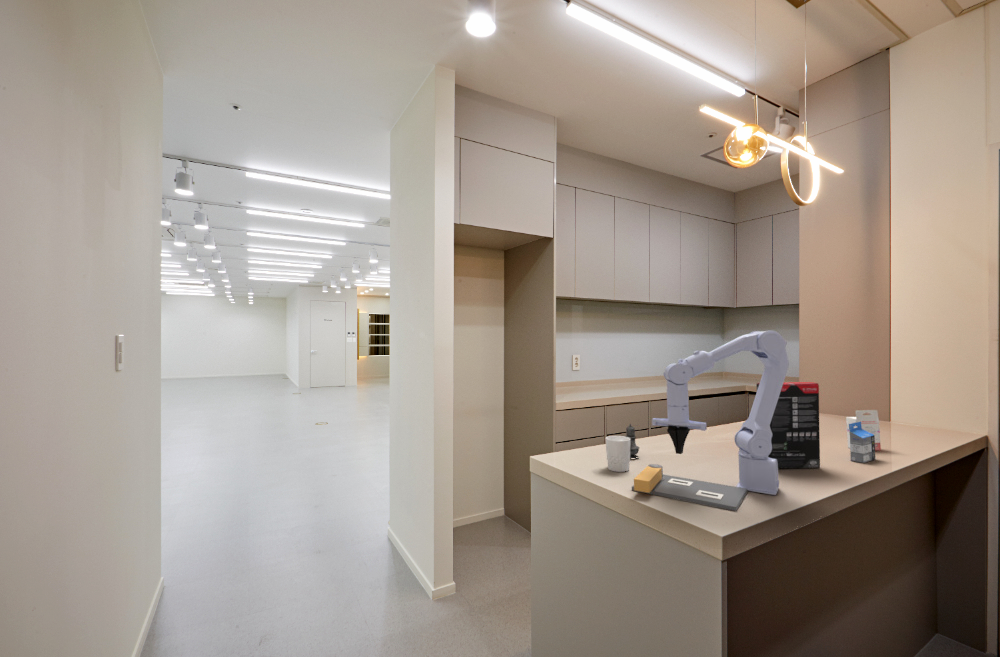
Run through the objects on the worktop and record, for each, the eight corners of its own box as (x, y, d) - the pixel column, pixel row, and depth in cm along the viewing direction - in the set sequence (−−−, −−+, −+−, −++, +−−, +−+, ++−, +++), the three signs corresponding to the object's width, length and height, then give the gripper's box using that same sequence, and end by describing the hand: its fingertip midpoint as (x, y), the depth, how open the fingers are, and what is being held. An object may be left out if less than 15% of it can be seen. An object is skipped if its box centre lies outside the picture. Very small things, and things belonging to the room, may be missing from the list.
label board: (747, 492, 118) (747, 487, 118) (736, 511, 105) (735, 505, 105) (651, 475, 134) (651, 471, 134) (631, 490, 121) (631, 485, 121)
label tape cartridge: (864, 463, 142) (862, 425, 142) (849, 461, 145) (848, 424, 145) (876, 459, 146) (874, 422, 146) (862, 457, 149) (860, 421, 150)
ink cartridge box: (869, 447, 162) (867, 407, 162) (881, 450, 157) (879, 410, 157) (846, 448, 162) (845, 408, 162) (857, 451, 157) (856, 410, 157)
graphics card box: (807, 463, 144) (804, 380, 145) (823, 469, 137) (819, 382, 138) (756, 464, 143) (753, 381, 144) (770, 470, 136) (767, 383, 137)
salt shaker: (637, 460, 151) (636, 425, 151) (620, 458, 154) (619, 424, 154) (641, 456, 156) (640, 422, 156) (625, 454, 159) (624, 421, 159)
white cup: (622, 464, 146) (621, 434, 146) (636, 471, 139) (635, 439, 139) (601, 467, 144) (600, 436, 144) (615, 473, 136) (614, 441, 137)
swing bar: (649, 492, 114) (649, 481, 114) (634, 490, 116) (633, 478, 117) (664, 475, 128) (663, 465, 129) (650, 473, 131) (650, 463, 131)
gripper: (708, 405, 123) (710, 453, 123) (656, 401, 132) (658, 446, 131) (702, 408, 117) (704, 459, 117) (648, 404, 126) (650, 451, 126)
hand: (679, 453), depth 124 cm, fingers closed
